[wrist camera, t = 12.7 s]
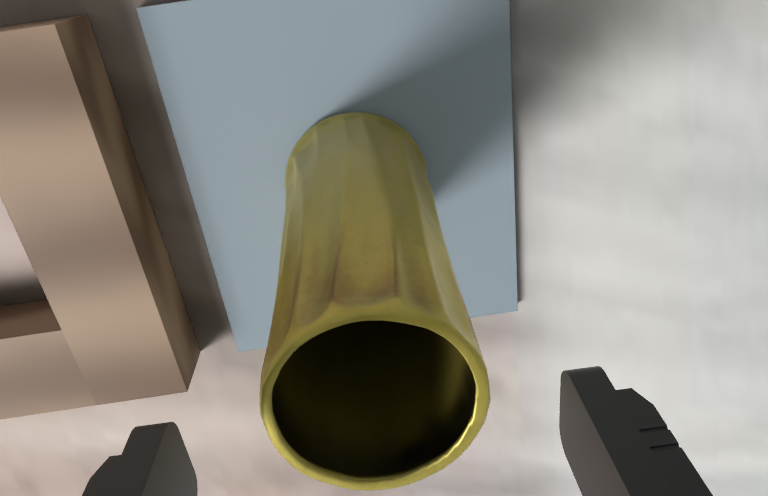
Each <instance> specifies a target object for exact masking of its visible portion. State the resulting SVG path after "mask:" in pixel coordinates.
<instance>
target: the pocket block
mask: <svg viewBox="0 0 768 496" xmlns="http://www.w3.org/2000/svg"><path fill="white" fill-rule="evenodd" d="M0 197H1V199H2V201H3V203H4V206H5V208H6V210H7V212H8V214H9V217H10V219H11V221H12V223H13V225H14V227H15V230H16V232H17V234H18V236H19V238H20V241H21V243H22V245H23V247H24V249H25V251H26V254H27V256H28V258H29V260H30V262H31V264H32V267H33V269H34V271H35V273H36V275H37V278H38V280H39V282H40V284H41V286H42V288H43V291H44V293H45V295H46V297H47V299H46V300H39V301H32V302H25V303H19V304H12V305H5V306H0V419H6V418H13V417H20V416H26V415H33V414H40V413H47V412H53V411H60V410H67V409H74V408H80V407H87V406H94V405H101V404H107V403H114V402H121V401H128V400H134V399H141V398H148V397H155V396H161V395H168V394H175V393H182V392H187V391H188V388H189V385H190V382H191V379H192V376H193V373H194V370H195V366H196V363H197V360H198V357H199V354H200V349H199V346H198V343H197V340H196V337H195V334H194V331H193V328H192V325H191V322H190V319H189V316H188V313H187V310H186V307H185V304H184V301H183V298H182V296H181V293H180V290H179V287H178V284H177V281H176V278H175V275H174V272H173V269H172V266H171V263H170V260H169V257H168V254H167V251H166V248H165V245H164V242H163V239H162V236H161V233H160V230H159V227H158V224H157V221H156V218H155V215H154V212H153V209H152V206H151V203H150V200H149V197H148V194H147V191H146V188H145V185H144V182H143V179H142V176H141V173H140V170H139V167H138V164H137V161H136V158H135V155H134V152H133V149H132V146H131V143H130V140H129V137H128V134H127V131H126V128H125V125H124V122H123V119H122V116H121V113H120V110H119V107H118V104H117V101H116V98H115V95H114V92H113V89H112V86H111V83H110V80H109V77H108V74H107V71H106V68H105V66H104V63H103V60H102V57H101V54H100V51H99V48H98V45H97V42H96V39H95V36H94V33H93V30H92V27H91V24H90V21H89V18H88V15H80V16H73V17H66V18H59V19H52V20H45V21H38V22H31V23H24V24H17V25H10V26H3V27H0Z"/></svg>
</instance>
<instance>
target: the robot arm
mask: <svg viewBox="0 0 768 496" xmlns="http://www.w3.org/2000/svg"><path fill="white" fill-rule="evenodd" d="M560 435H561V441H562V445H563V449H564V452H565V455H566V458H567V460H568V462H569V465H570V467H571V469H572V472H573V474H574V476H575V479H576V481H577V484H578V486H579V488H580V491H581V493H582V495H583V496H713V495H712V494H711V492H710V491H709V489H708V488H707V486H706V485H705V483H704V481H703V480H702V478H701V477H700V475H699V474H698V472H697V471H696V469H695V468H694V466H693V465H692V463H691V462H690V460H689V459H688V457H687V455H686V454H685V452H684V451H683V449H682V448H680V447H679V445H678V442H677V440H676V439H675V437H674V436H673V434H672V433H671V431H670V430H668V429H667V425H666V423H665V422H664V420H663V419H662V417H661V416H660V414H659V413H658V411H657V410H656V408H655V407H654V405H653V404H652V403H650V402H649V401H648V400H646V399H645V398H644V397H642V396H641V395H640V394H638V393H637V392H636V391H634V390H633V389H632V388H629V389H622V390H615V389H614V387H613V385H612V383H611V382H610V380H609V378H608V377H607V375H606V373H605V372H604V370H603V369H602V368H601V367H599V366H596V367H589V368H581V369H574V370H566V371H563V372H562V374H561V388H560ZM82 496H197V479H196V474H195V471H194V468H193V466H192V463H191V460H190V458H189V455H188V453H187V450H186V447H185V445H184V442H183V440H182V437H181V434H180V432H179V429H178V427H177V425H176V424H175V423H174V422H168V423H160V424H153V425H146V426H138V427H135V428H134V429H133V430H132V432H131V434H130V436H129V438H128V441H127V443H126V445H125V448H124V450H123V453H122V455H118V456H110V457H109V458H108V459H107V460H106V461H105V462H104V463H103V465H102V466H101V467H100V468H99V469H98V470H97V471H96V472H95V474H94V475H93V476H92V477H91V478H90V480H89V482H88V484H87V486H86V488H85V490H84V493H83V495H82Z"/></svg>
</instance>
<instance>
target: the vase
mask: <svg viewBox="0 0 768 496" xmlns="http://www.w3.org/2000/svg"><path fill="white" fill-rule="evenodd" d="M285 191H286V201H285V217H284V224H283V233H282V242H281V251H280V261H279V275H278V283H277V291H276V299H275V305H274V311H273V317H272V323H271V329H270V334H269V340H268V345H267V350H266V354H265V359H264V363H263V367H262V373H261V384H260V414H261V417H262V420H263V423H264V425H265V428H266V430H267V433H268V435H269V437H270V439H271V442H272V444H273V445H274V447H275V448H276V450H277V451H278V452H279V453H280V454H281V455H282V456H283V457H284V458H285V459H286V460H287V461H288V462H289V463H290V464H291V465H292V466H293V467H294V468H295V469H297V470H299V471H300V472H301V473H303V474H305V475H307V476H309V477H311V478H313V479H316V480H319V481H322V482H325V483H329V484H332V485H336V486H339V487H343V488H348V489H353V490H382V489H389V488H396V487H400V486H404V485H408V484H411V483H414V482H417V481H419V480H422V479H424V478H426V477H428V476H430V475H432V474H434V473H436V472H438V471H440V470H442V469H443V468H445V467H446V466H448V465H449V464H451V463H452V462H453V461H454V460H456V459H457V458H458V457H459V456H460V455H461V454H462V453H463V452H464V451H465V450H466V449H467V448H468V447H469V445H470V444H471V443H472V441H473V440H474V438H475V437H476V436H477V434H478V432H479V431H480V429H481V427H482V425H483V424H484V422H485V419H486V415H487V411H488V408H489V404H490V400H491V399H490V387H489V380H488V374H487V369H486V366H485V363H484V360H483V357H482V355H481V351H480V348H479V344H478V341H477V338H476V335H475V332H474V329H473V326H472V323H471V320H470V317H469V314H468V311H467V308H466V305H465V303H464V300H463V297H462V295H461V292H460V289H459V286H458V283H457V280H456V277H455V273H454V270H453V266H452V263H451V260H450V257H449V253H448V250H447V247H446V244H445V241H444V238H443V234H442V230H441V226H440V222H439V218H438V214H437V210H436V205H435V200H434V195H433V192H432V188H431V186H430V183H429V181H428V178H427V167H426V163H425V161H424V157H423V155H422V153H421V151H420V149H419V147H418V145H417V144H416V143H415V141H414V140H413V138H412V137H411V136H410V135H409V134H408V133H407V132H406V131H405V130H404V129H403V128H402V127H401V126H399V125H398V124H396V123H394V122H392V121H391V120H388V119H386V118H384V117H381V116H378V115H374V114H370V113H363V112H349V113H343V114H339V115H335V116H332V117H329V118H327V119H324V120H322V121H320V122H319V123H317V124H316V125H314V126H313V127H311V128H310V129H309V130H308V131H307V132H306V133H305V134H304V135H303V136H302V137H301V138H300V139H299V141H298V142H297V143H296V145H295V146H294V148H293V150H292V152H291V154H290V157H289V159H288V162H287V167H286V174H285Z"/></svg>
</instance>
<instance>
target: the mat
mask: <svg viewBox="0 0 768 496" xmlns="http://www.w3.org/2000/svg"><path fill="white" fill-rule="evenodd" d="M136 10H137V14H138V17H139V20H140V24H141V27H142V30H143V34H144V37H145V40H146V44H147V47H148V50H149V54H150V57H151V61H152V64H153V67H154V71H155V74H156V77H157V81H158V84H159V87H160V91H161V94H162V97H163V101H164V104H165V108H166V111H167V114H168V118H169V121H170V124H171V128H172V131H173V134H174V138H175V141H176V144H177V148H178V151H179V154H180V158H181V161H182V165H183V168H184V171H185V175H186V178H187V181H188V185H189V188H190V191H191V195H192V198H193V201H194V205H195V208H196V212H197V215H198V218H199V222H200V225H201V228H202V232H203V235H204V238H205V242H206V245H207V248H208V252H209V255H210V258H211V262H212V265H213V269H214V272H215V275H216V279H217V282H218V285H219V289H220V292H221V295H222V299H223V302H224V305H225V309H226V312H227V316H228V319H229V322H230V326H231V329H232V332H233V336H234V339H235V342H236V346H237V349H238V352H242V351H248V350H255V349H262V348H267V345H268V340H269V334H270V329H271V323H272V317H273V311H274V305H275V299H276V291H277V283H278V275H279V261H280V251H281V242H282V233H283V224H284V217H285V201H286V191H285V174H286V167H287V162H288V159H289V157H290V154H291V152H292V150H293V148H294V146H295V145H296V143H297V142H298V141H299V139H300V138H301V137H302V136H303V135H304V134H305V133H306V132H307V131H308V130H309V129H310V128H311V127H313V126H314V125H316V124H317V123H319V122H320V121H322V120H324V119H327V118H329V117H332V116H335V115H339V114H343V113H349V112H363V113H370V114H374V115H378V116H381V117H384V118H386V119H388V120H391V121H392V122H394V123H396V124H398V125H399V126H401V127H402V128H403V129H404V130H405V131H406V132H407V133H408V134H409V135H410V136H411V137H412V138H413V140H414V141H415V143H416V144H417V145H418V147H419V149H420V151H421V153H422V155H423V157H424V161H425V163H426V167H427V178H428V181H429V183H430V186H431V188H432V192H433V195H434V200H435V205H436V210H437V214H438V218H439V222H440V226H441V230H442V234H443V238H444V241H445V244H446V247H447V250H448V253H449V257H450V260H451V263H452V266H453V270H454V273H455V277H456V280H457V283H458V286H459V289H460V292H461V295H462V297H463V300H464V303H465V305H466V308H467V311H468V314H469V317H470V318H472V317H479V316H485V315H492V314H499V313H506V312H512V311H518V302H517V265H516V227H515V190H514V153H513V116H512V79H511V42H510V5H509V0H184V1H177V2H170V3H163V4H156V5H149V6H142V7H138V8H136Z"/></svg>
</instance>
